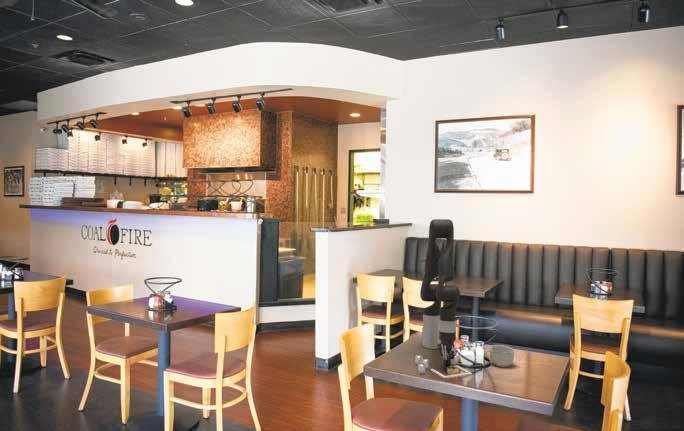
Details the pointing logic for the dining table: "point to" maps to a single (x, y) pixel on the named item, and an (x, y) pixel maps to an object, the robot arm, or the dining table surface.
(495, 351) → the teacup
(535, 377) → the dining table surface
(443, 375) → the frame
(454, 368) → the nut
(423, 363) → the spacer field
